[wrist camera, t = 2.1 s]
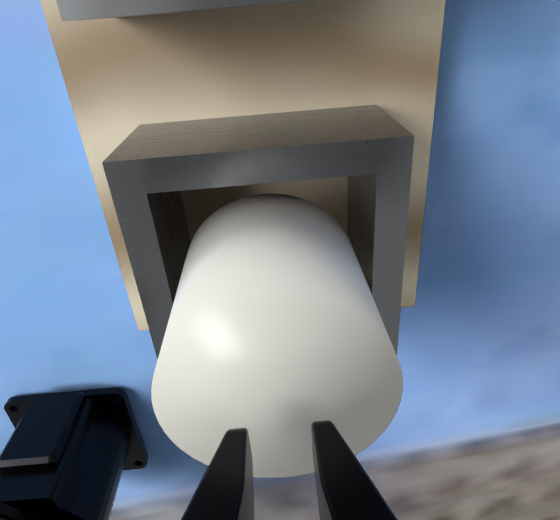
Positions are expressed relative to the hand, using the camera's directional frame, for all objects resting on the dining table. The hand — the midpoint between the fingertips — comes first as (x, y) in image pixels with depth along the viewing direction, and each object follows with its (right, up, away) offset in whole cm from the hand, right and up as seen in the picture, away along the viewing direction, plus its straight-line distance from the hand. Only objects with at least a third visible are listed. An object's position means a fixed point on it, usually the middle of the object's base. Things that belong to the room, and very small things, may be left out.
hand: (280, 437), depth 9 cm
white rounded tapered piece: (0, +3, +6) cm, 6 cm away
